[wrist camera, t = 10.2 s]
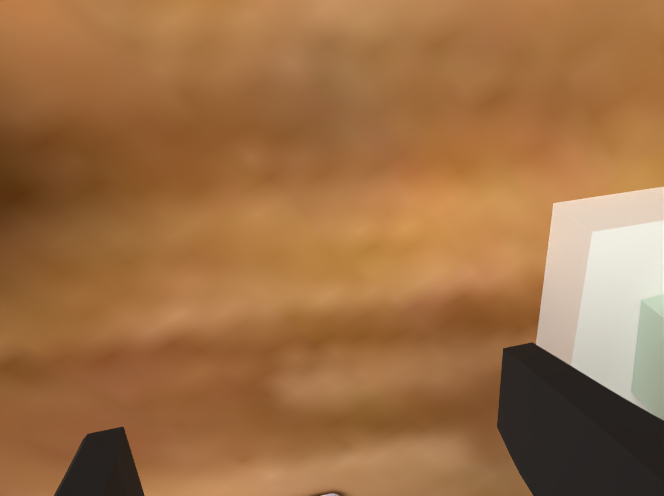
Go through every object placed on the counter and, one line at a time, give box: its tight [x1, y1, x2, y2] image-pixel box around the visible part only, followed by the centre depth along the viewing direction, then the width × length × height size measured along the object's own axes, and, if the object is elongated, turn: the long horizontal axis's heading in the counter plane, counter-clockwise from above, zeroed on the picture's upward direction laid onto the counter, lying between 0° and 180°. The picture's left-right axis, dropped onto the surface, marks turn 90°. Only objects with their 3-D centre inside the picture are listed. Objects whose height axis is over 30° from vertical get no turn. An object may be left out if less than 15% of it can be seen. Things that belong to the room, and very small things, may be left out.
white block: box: [536, 187, 664, 415], centre depth 26 cm, size 10×10×3 cm
